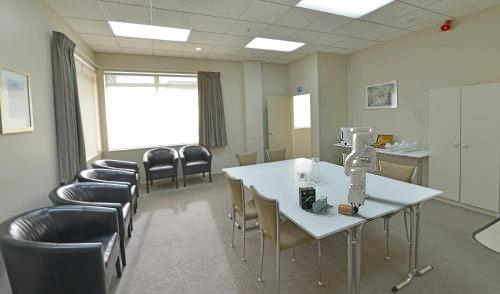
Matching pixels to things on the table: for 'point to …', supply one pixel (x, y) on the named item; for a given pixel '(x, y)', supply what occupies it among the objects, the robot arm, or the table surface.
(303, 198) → the tampon box
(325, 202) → the board
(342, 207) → the block
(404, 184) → the table surface
